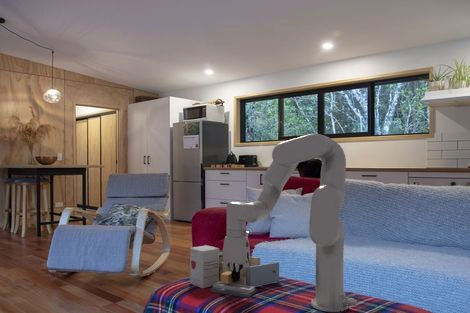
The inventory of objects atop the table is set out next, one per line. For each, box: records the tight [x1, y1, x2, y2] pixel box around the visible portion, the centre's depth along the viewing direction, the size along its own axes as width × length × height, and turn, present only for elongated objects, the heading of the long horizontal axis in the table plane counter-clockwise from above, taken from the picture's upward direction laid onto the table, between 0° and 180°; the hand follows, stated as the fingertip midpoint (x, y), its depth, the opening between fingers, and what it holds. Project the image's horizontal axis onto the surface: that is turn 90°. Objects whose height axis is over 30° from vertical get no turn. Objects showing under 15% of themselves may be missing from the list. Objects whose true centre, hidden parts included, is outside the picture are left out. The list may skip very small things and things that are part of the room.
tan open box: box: [219, 256, 261, 285], centre depth 166 cm, size 11×16×9 cm
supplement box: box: [189, 244, 220, 289], centre depth 162 cm, size 9×9×15 cm
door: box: [246, 261, 280, 288], centre depth 160 cm, size 2×17×8 cm, turn 123°
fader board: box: [210, 280, 258, 299], centre depth 152 cm, size 16×8×2 cm, turn 63°
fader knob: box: [221, 271, 232, 286], centre depth 153 cm, size 3×5×5 cm, turn 153°
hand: (235, 280), depth 152 cm, fingers closed
